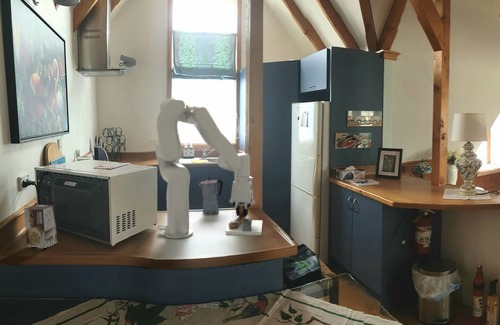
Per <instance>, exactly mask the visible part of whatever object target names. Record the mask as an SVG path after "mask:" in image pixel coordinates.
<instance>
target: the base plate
mask: <svg viewBox="0 0 500 325" xmlns="http://www.w3.org/2000/svg"><path fill="white" fill-rule="evenodd" d="M231 220H232V219H230V220H229V222H228V225H227V227H226V230H225V235H238V236H239V235H241V236H262V233H263V232H262V231H263V220H257V219H256V220H255V219H254V220H253V219H252V231H242V223H243V222H242V223H241V224H240V225H239V226H238V228H229V223H231Z"/></svg>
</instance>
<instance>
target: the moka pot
mask: <svg viewBox="0 0 500 325" xmlns="http://www.w3.org/2000/svg"><path fill="white" fill-rule="evenodd" d="M219 183H220V184H219ZM218 184H219V193H218ZM198 186H199V187H200V189H201V194H202V197H203V200H202V201H203V202H202V213H203V215H204V214H205V215H215V214H218V213H219V211H220V209H219V205H218V199H217V197H219V196H221V194H222V190H223V186H224V182H223V181H222V180H221V179H220V178H219V179H214V180H212V179H211V177H210V176H208V177H207V180H204V181H201V182H199V183H198Z"/></svg>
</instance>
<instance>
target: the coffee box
mask: <svg viewBox="0 0 500 325" xmlns="http://www.w3.org/2000/svg"><path fill="white" fill-rule="evenodd" d="M23 215H24V225H25V235H26V245H27V246H26V247H27V248H31V247H38V248H37V249H43V248H47V247H49V248H51V247H53V246H55V245H54V244H56V243H57V244H58V237H57V221H56V207H55V205H50V204H49V205H47V204H34V205H31V206H28V207H25V208H23ZM57 244H56V245H57ZM52 245H53V246H52ZM50 246H51V247H50ZM47 249H48V248H47Z"/></svg>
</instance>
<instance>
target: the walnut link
mask: <svg viewBox="0 0 500 325" xmlns="http://www.w3.org/2000/svg"><path fill="white" fill-rule="evenodd" d="M244 209H245V204H239V216H237V217H236V219H235V220H236V224H231V223H229V222H228V224H229V228H238V226H239V225H240V224H241V223H242V222H243V219H247V216H246V217H244Z"/></svg>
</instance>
